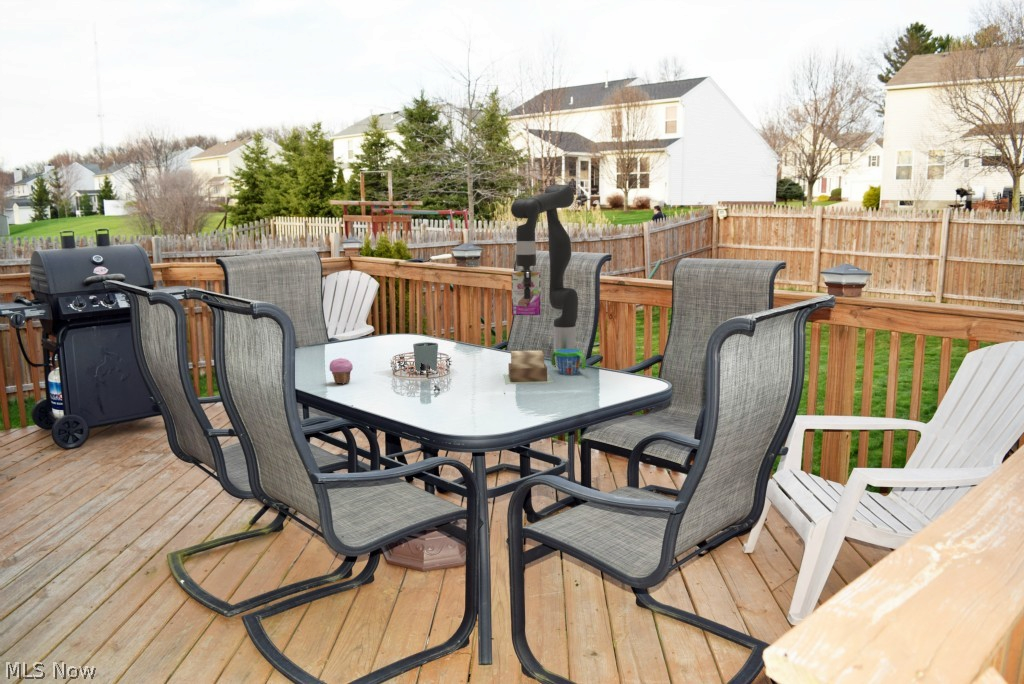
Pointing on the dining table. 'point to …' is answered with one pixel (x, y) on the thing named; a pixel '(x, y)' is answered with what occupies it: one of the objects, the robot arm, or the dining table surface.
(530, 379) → the walnut block
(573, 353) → the snack cup
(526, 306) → the candy bar box
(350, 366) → the cupcake
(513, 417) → the dining table surface
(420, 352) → the grey green cup
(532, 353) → the maple block
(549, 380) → the sage mat
